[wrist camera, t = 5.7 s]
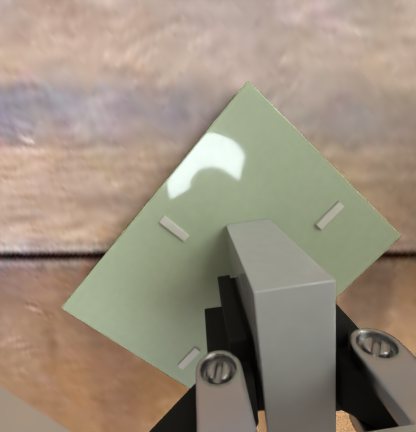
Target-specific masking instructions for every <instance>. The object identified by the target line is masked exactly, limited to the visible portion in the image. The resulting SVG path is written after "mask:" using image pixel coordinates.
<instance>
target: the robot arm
mask: <svg viewBox="0 0 416 432" xmlns="http://www.w3.org/2000/svg"><path fill="white" fill-rule="evenodd" d="M218 285H219V292H220V299H221V306H220V307H214V308H207V309H205V325H206V340H207V354H206V355H204V356H203V357H202V358H201V359H200V360H199V362H198V364H197V366H196V371H195V376H196V383H195V384H194V385H193V386H192V387H191V388H190V389H189V390H188V391H187V393H186V394H185V395H184V396H183V397H182V398H181V399H180V400H179V401H178V402H177V403H176V404H175V405H174V406H173V407H172V408H171V409H170V410H169V412H168V413H167V414H166V415H165V416H164V417H163V418H162V419H161V420H160V421H159V422H158V423H157V424H156V425H155V426H154V427H153V428H152V429H151V431H150V432H257V428H256V427H257V425H258V423H259V419H258V411H261V408H260V398H259V389H258V379H257V369H256V360H255V350H254V342H253V337H252V332H251V329H250V326H249V323H248V319H247V316H246V313H245V310H244V307H243V303H242V300H241V297H240V294H239V291H238V287H237V284H236V281H235V278H230V275H226V276H219V277H218ZM340 410H343V411H345V412H347V413H348V414H349V418H350V420H351V423H352V425H353V427H354V428H355V430H356V432H416V357H415V356H414V355H413V354H412V353H411V352H410V351H409V350H408V349H407V348H406V347H405V346H404V345H403V344H402V343H401V342H400V341H399V340H397V339H396V338H395V337H394V336H392V335H390V334H388V333H386V332H384V331H381V330H378V329H372V328H361V329H359V328H358V327H357V326H356V325H355V324H354V323H353V322H352V321H351V319H350V318H349V317H348V316H347V315H346V314H345V313H344V312H343V311H342V310H341V308H340V307H339V306H338V305H337V304H336V411H340Z"/></svg>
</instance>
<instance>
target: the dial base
mask: <svg viewBox="0 0 416 432" xmlns="http://www.w3.org/2000/svg"><path fill="white" fill-rule="evenodd" d="M264 219H271V220H272V221H273V222H274V223H275V224H276V225H277V226H278V227H279V228H280V229H281V230H283V231H284V232H285V233H286V234H287V235H288V236H289V237H290V238H291V239H292V240H293V241H294V242H295V243H296V244H298V245H299V246H300V247H301V248H302V249H303V250H304V251H305V252H306V253H307V254H308V255H309V256H310V257H311V258H312V259H314V260H315V261H316V262H317V263H318V264H319V265H320V266H321V267H322V268H323V269H324V270H325V271H326V272H327V273H328V274H330V275H331V276H332V277H333V278H334V279H335V281H336V297H337V296H339V295H340V294H341V293H342V292H343V291H344V290H345V289H346V288H347V287H348V286H349V285H350V284H351V283H352V282H353V281H355V280H356V279H357V278H358V277H359V276H360V275H361V274H362V273H363V272H364V271H365V270H366V269H367V268H368V267H369V266H370V265H372V264H373V263H374V262H375V261H376V260H377V259H378V258H379V257H380V256H381V255H382V254H383V253H384V252H385V251H386V250H388V249H389V248H390V247H391V246H392V245H393V244H394V243H395V242H396V241H397V240H398V239H399V238H400V237H401V234H400V233H399V232H398V231H397V230H396V229H395V228H394V227H393V226H392V225H391V224H390V223H389V222H388V221H387V220H386V219H385V218H384V217H383V216H382V215H381V214H380V213H379V212H378V211H377V210H376V209H375V208H374V207H373V206H372V205H371V204H370V203H369V202H368V201H367V200H366V199H365V198H364V197H363V196H362V195H361V194H360V193H359V192H358V191H357V190H356V189H355V188H354V187H353V186H352V185H351V184H350V183H349V182H348V181H347V180H346V179H345V178H344V177H343V176H342V175H341V174H340V173H339V172H338V171H337V170H336V169H335V168H334V167H333V166H332V165H331V164H330V163H329V162H328V161H327V160H326V159H325V158H324V157H323V155H322V154H321V153H320V152H319V151H318V150H317V149H316V148H315V147H314V146H313V145H312V144H311V143H310V142H309V141H308V140H307V139H306V138H305V137H304V136H303V135H302V134H301V133H300V132H299V131H298V130H297V129H296V128H295V127H294V126H293V125H292V124H291V123H290V122H289V121H288V120H287V119H286V118H285V117H284V116H283V115H282V114H281V113H280V112H279V111H278V110H277V109H276V108H275V107H274V106H273V105H272V104H271V103H270V102H269V101H268V100H267V99H266V98H265V97H264V96H263V95H262V94H261V93H260V92H259V91H258V90H257V89H256V88H255V87H254V86H253V85H252V84H251V83H250V82H249V81H247V82H246V83H245V85H244V86H243V87H242V88H241V89H240V91H239V92H238V93H237V94H236V96H235V97H234V98H233V99H232V100H231V102H230V103H229V104H228V105H227V106H226V108H225V109H224V110H223V111H222V113H221V114H220V115H219V116H218V117H217V119H216V120H215V121H214V122H213V123H212V125H211V126H210V127H209V128H208V130H207V131H206V132H205V133H204V134H203V136H202V137H201V138H200V139H199V140H198V142H197V143H196V144H195V145H194V147H193V148H192V149H191V150H190V151H189V153H188V154H187V155H186V156H185V157H184V159H183V160H182V161H181V162H180V164H179V165H178V166H177V167H176V168H175V170H174V171H173V172H172V173H171V174H170V176H169V177H168V178H167V179H166V181H165V182H164V183H163V184H162V185H161V187H160V188H159V189H158V190H157V192H156V193H155V194H154V195H153V196H152V198H151V199H150V200H149V201H148V202H147V204H146V205H145V206H144V207H143V209H142V210H141V211H140V212H139V213H138V215H137V216H136V217H135V218H134V219H133V221H132V222H131V223H130V224H129V226H128V227H127V228H126V229H125V230H124V232H123V233H122V234H121V235H120V236H119V238H118V239H117V240H116V241H115V243H114V244H113V245H112V246H111V247H110V249H109V250H108V251H107V252H106V253H105V255H104V256H103V257H102V258H101V260H100V261H99V262H98V263H97V264H96V266H95V267H94V268H93V269H92V270H91V272H90V273H89V274H88V275H87V277H86V278H85V279H84V280H83V281H82V283H81V284H80V285H79V286H78V287H77V289H76V290H75V291H74V292H73V294H72V295H71V296H70V297H69V298H68V300H67V301H66V302H65V303H64V304H63V306H62V309H63V310H65V311H66V312H68V313H69V314H71V315H73V316H74V317H76V318H77V319H79V320H81V321H82V322H84V323H85V324H87V325H89V326H90V327H92V328H93V329H95V330H97V331H98V332H100V333H101V334H103V335H105V336H106V337H108V338H109V339H111V340H113V341H114V342H116V343H117V344H119V345H121V346H122V347H124V348H125V349H127V350H128V351H130V352H132V353H133V354H135V355H136V356H138V357H140V358H141V359H143V360H144V361H146V362H148V363H149V364H151V365H152V366H154V367H156V368H157V369H159V370H160V371H162V372H164V373H165V374H167V375H168V376H170V377H172V378H173V379H175V380H176V381H178V382H180V383H181V384H183V385H184V386H186V387H188V388H189V389H190V388H191V387H192V386H193V385H194V384H195V383H196V376H195V371H196V366H197V364H198V362H199V360H200V359H201V358H202V357H203V356H204V355H206V354H207V340H206V325H205V309H207V308H214V307H220V306H221V299H220V292H219V285H218V277H219V276H226V275H230V278H232V273H231V264H230V256H229V248H228V240H227V231H226V225H229V224H236V223H243V222H250V221H257V220H264Z"/></svg>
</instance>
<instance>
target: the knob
mask: <svg viewBox="0 0 416 432" xmlns="http://www.w3.org/2000/svg"><path fill="white" fill-rule="evenodd" d="M226 231H227V240H228V248H229V256H230V264H231V273H232V278H235V281H236V284H237V287H238V291H239V294H240V297H241V300H242V303H243V307H244V310H245V313H246V316H247V319H248V323H249V326H250V329H251V332H252V337H253V342H254V350H255V360H256V369H257V379H258V389H259V398H260V408H261V411H258V419H259V423H258V429H259V432H336V281H335V279H334V278H333V277H332V276H331V275H330V274H328V273H327V272H326V271H325V270H324V269H323V268H322V267H321V266H320V265H319V264H318V263H317V262H316V261H315V260H314V259H312V258H311V257H310V256H309V255H308V254H307V253H306V252H305V251H304V250H303V249H302V248H301V247H300V246H299V245H298V244H296V243H295V242H294V241H293V240H292V239H291V238H290V237H289V236H288V235H287V234H286V233H285V232H284V231H283V230H281V229H280V228H279V227H278V226H277V225H276V224H275V223H274V222H273V221H272V220H271V219H264V220H257V221H250V222H243V223H236V224H229V225H226Z"/></svg>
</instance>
